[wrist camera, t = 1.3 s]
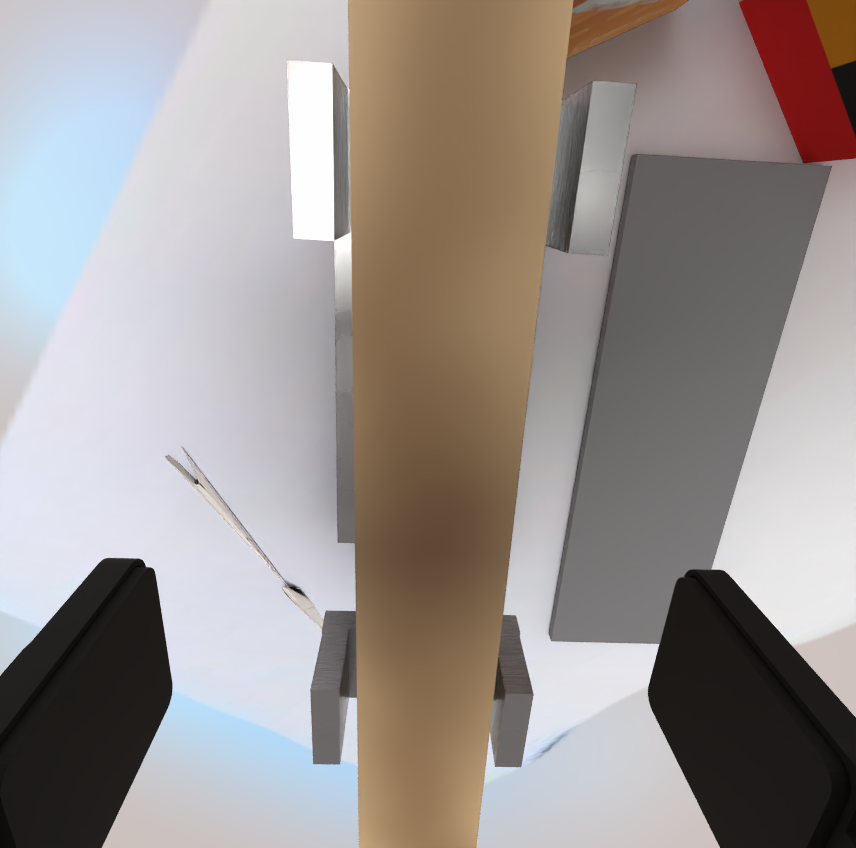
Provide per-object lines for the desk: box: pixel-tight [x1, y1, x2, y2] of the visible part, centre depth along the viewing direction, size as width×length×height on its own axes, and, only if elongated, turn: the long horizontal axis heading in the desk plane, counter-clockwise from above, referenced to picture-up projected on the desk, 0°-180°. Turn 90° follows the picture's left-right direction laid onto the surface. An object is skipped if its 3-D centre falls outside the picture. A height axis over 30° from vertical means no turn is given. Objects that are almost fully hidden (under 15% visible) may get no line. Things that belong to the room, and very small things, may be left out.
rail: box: [348, 0, 573, 848], centre depth 14 cm, size 4×22×4 cm, turn 178°
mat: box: [549, 154, 832, 644], centre depth 27 cm, size 8×25×1 cm, turn 177°
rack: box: [287, 60, 637, 767], centre depth 19 cm, size 8×19×13 cm, turn 177°
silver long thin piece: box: [166, 448, 324, 629], centre depth 30 cm, size 4×1×19 cm
